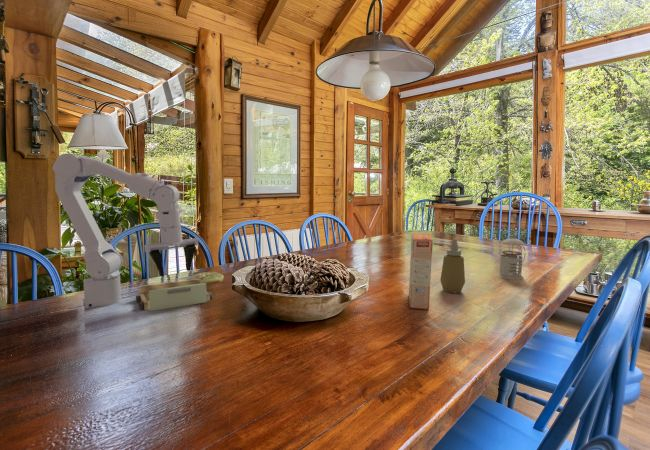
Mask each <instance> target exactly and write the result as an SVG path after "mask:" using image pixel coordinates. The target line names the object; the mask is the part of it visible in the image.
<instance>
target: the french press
mask: <svg viewBox="0 0 650 450" xmlns="http://www.w3.org/2000/svg"><path fill="white" fill-rule="evenodd" d="M511 217H512V218H513V221H515V220H516V219H515V218H518V215H517V214H516V213H513V214H512V215H511ZM512 228H513V229H512V235H514V232H515V224H513V227H512ZM501 243H502V244H504V245H509V246H511V250H503V251H501V253H502V254H501V255H500V259H499V260H500V265H499V273H497V274H496V276H497V277H498V276H499V278H501V279H507V280H523V279H524V278H525V277H524V276H523V275H522V268H523V262H524V261H525V258H526V254H524V256H522V255H523V251H522V249H524V251H526V249H525V246H524V245H525V243H524V242H523V241H522V240H520V239H518V238H514V237H512V238H506V239H503V240H502V241H501ZM513 246H516V248H517V249H518V250H520V251H515V250H513V248H514V247H513Z"/></svg>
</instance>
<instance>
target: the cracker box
mask: <svg viewBox="0 0 650 450" xmlns="http://www.w3.org/2000/svg"><path fill="white" fill-rule="evenodd" d="M410 241H411V243H410V262H409V263H410V264H409V265H410V266H409V283H408V284H409V285H408V301H409V308H410V309H416V310H429V309H430V293H431V278H432V277H431V276H432V261H433V260H432V259H433V258H432V256H433V242H434V239H433V238H432V236H431V235H430V233H423V232H422V233H421V232H417V233H416V232H413V233H411V240H410Z"/></svg>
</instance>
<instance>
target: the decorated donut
mask: <svg viewBox="0 0 650 450" xmlns="http://www.w3.org/2000/svg"><path fill="white" fill-rule="evenodd" d="M224 277H225V276H224V275H223V274H222V273H220V272H216V271H207V272H199V273H197V274H194V276H192V279H200V284H203V283H206V285H209V284H211V285H212V284H217V283H221V282H224V279H225V278H224Z"/></svg>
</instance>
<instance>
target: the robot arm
mask: <svg viewBox="0 0 650 450" xmlns="http://www.w3.org/2000/svg"><path fill="white" fill-rule="evenodd" d="M52 171H53V172H54V174H55V175H54V186H55V187H54V190H55V193H56V195H57V197H58V199H59V202H60V203H61V205H62V207H63V208H64V210H65V212H66V215H67V216H68V218H69V220H70V222H71V224H72V226H73V227H74V229H75V231H76V234H77V235H78V237H79V239H80V241H81V244H82V245H83V247H84V253H83V260H84V262H85V271H86V273H87V274H88V275H89V278H84V279H83V297H84V298H83V299H82V303H83V306H84V308H85V309H86V308H87V309H88V308H93V307H94V308H95V307H106V306H111V305H115V304H118V303H120V302H121V301H122V290H121V289H122V287H121V273H120V269H121V268H122V266H123V265H124V261H123V260H124V259H123V257H122V254H120V253H119V252H118V251H116V249H115V248H114V246H113V245H112V244H110V243H109V242H108V241H106V239H105V238H104V235H103V233H102V231H101V229H100V227H99V225H98V223H97V221H96V219H95V217H94V216H93V214H92V212H91V210H90V208H89V206H88V204H87V202H86V200H85V197H84V196H83V194H82V192H81V190H82V189H83V187H84V185H85V183H86V182H87V181H88V180H89V179H90V178H91V177H92V176H93V175H95V176H97V175H100V176H102V177H105V178H107V179H108V178H109V179H111V180H112V181H113V180H114V181H116V182H118V183H122V184H124V185H127V187H128V190H129V191H130V192H131V193H134V194H136V195H139V196H141V197H144V198H146V199H149V200H152V201H153V202H154V203H155V204H156V205H157V215H158V225H159V233H160V242H157V243H151V244H144V252H145V253H147V254H149V255H150V257H151V259H152V261H153V262H154V263H155V266H156V268H157V271H158V274H159V277H164V274H165V273H164V267H163V254H162V252H161V251H163V250H165V251H166V250H172V249H173V250H174V249H178V248H182V249H183V253H184V258H185V267H186V268H185V269H186V271H188V272H191V271H192V263H193V259H194V256H195V253H196V250H197V246H199V238H197V237H195V238H194V237H193V238H185V239H183V233H182V224H181V215H180V210H179V201H180V200H179V199H180V198H181V194H180V190H179V189H178V188H177V187H176V186H174V185H173V184H170V183H169V184H165V181H164V180H157V179H155V178H153V177H150V176H149V174H148V173H147V172H142V173H140V172H138V173H137V172H136V173H135V174H131V173H130V172H127V171H125V170H123V169H121V168H118V167H117V166H115V165H112V164H110V163H108V162H107V161H103V160H101V159H98V158H95V157H91V156H89V155H85V154H84V155H83V154H82V155H78V154H73V153H62V154H60V155H59V156H58V157H56V159H55V162H54V164H53V165H52Z"/></svg>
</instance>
